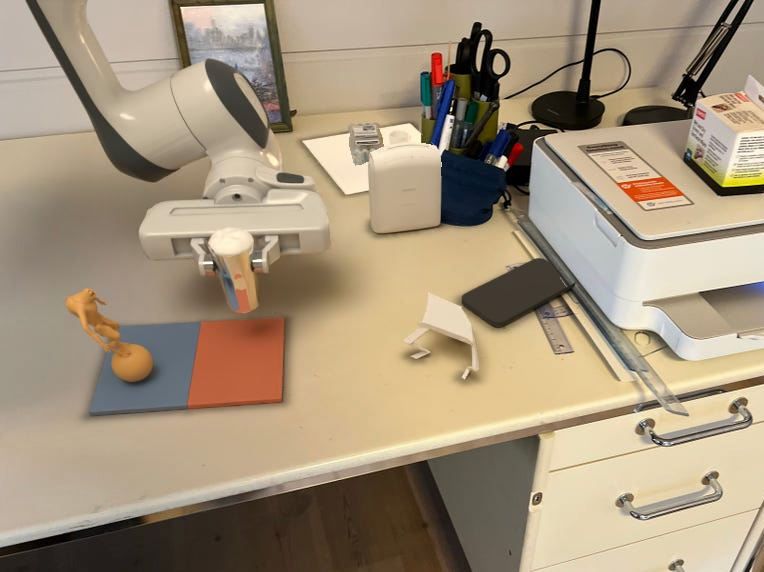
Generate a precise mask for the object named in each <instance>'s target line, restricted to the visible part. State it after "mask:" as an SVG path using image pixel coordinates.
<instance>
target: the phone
mask: <svg viewBox="0 0 764 572" xmlns="http://www.w3.org/2000/svg"><path fill="white" fill-rule="evenodd" d="M552 264H553V263H552V262H550V261H549V260H547V259H545V258H543V257H542V258H541V257H536V258H533V259H531V260H529V261H527V262H525V263H523V264H521V265H519V266H517V267H515V268H513V269H511V270H509V271H507V272H504V273H503V274H501V275H499V276H497V277H495V278H493V279H490V280H489V281H487V282H485V283H483V284H480V285H479V286H477V287H475V288H473V289H471V290H469V291H467V292H465V293H463V294H462V295H461V302H460V303H461V304H462V305H463V306H464V307H465V308H467V309H468V310H469V311H471V312H472V313H474V314H475V315H477V316H478V317H479V318H480V319H482V320H484V321H485V322H486V323H488V325H489V324H490V325H491V326H493V327H497V328H499V327H504V326H506V325H508V324H510V323H512V322H513V321H515V320H517V319H518V318H521V317H522V316H525V315H526V314H527V313H529V312H531V311H533V310H535V309H537V308H539V307H540V306H543V305H544V304H546V303H548V302H549V301H551V300H553V299H555V298H557V297H559V296H561V295H562V294H564V293H566V292H568V291H570V290H571V289H573V288H574V287H576V282H577V280H576V281H575V283H573V284H572V285H570V286H568V287H566V286H565V285H564V283H563V282H562V280H561V279H560V276H559V274H558V272H557V270H556V269H555V268H554V267H553V266H552Z"/></svg>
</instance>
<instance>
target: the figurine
mask: <svg viewBox="0 0 764 572" xmlns="http://www.w3.org/2000/svg"><path fill="white" fill-rule="evenodd" d="M97 302H98V303H99V304H100V305H102V306H103V305H104V306H107V305H108V303H106V302H105V301H104V300H102V299H100V298H99V297H97V293H96V292H94V290H93V289H92V288H90V287H87V288H84V289H83V290H81V291H79V292H78V293H75V294H73V295H70V296H69V297H67V299H66V300H65V308H66V309H67V311H68V312H69V313H70V314H72V315H73V316H75V317H76V318H78V319H79V323H80V325H81V327H82V329H83V331H84V332H85V333H86V334H87V335H88V336H89V337H91V338H92V339H93V340H94V341H95V342H96V343H97V344H99V345H100V346H101V348H102V349H103V351H105V352H106V354H107V353H108V351H110V350H109V349H111V350H112V351H114V352H115V353H114V355H113V357H112V361H111V365H112V369H113V371H114V373H115V374H116V375H117V376H118V377H119V378H120V379H122V380H124V381H128V382H136V381H140V380H142V379H144V378H145V377H147V376H148V375H149V373H150V372H151V370H152V367H153V359H152V356H151V354H150V352H149V351H148V350H147V349H146V348H144V347H142V346H140V345H137V344H129V343H122V342H119V340H120V334H119V332H117V331H118V329H119V326H120V325H119V322H117V321H115V320H112V319H110V318H109V317H105V316H104V315H102V314H100V313H99V309H98V304H97ZM90 326H91V327H93V330H92V329H91V328H90ZM100 336H101V337H105V338H108V343H104V341H103V340H102V338H101V337H100ZM116 345H117V346H118V347H119V349H118V348H116V347H115V346H116ZM109 346H110V347H109ZM110 352H111V351H110Z"/></svg>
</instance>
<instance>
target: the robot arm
mask: <svg viewBox="0 0 764 572" xmlns="http://www.w3.org/2000/svg"><path fill="white" fill-rule="evenodd" d="M24 1H25V3H26V5H27V7H28V9H29V11H30V13H31V15H32V16H33V19H34V20H35V22H36V24H37V26H38V28H39V29H40V31H41V34H42V35H43V37H44V40H45V41H46V43H47V44H48V46H49V48H50V50H51V52H52V53H53V56H55V58H56V60H57V62H58V64H59V66H60V68H61V70H62V71H63V72H64V74H65V76H66V78H67V80H68V82H69V83H70V86H71V87H72V89H73V90H74V92H75V95H76V96H77V97H78V100H79V101H80V103H81V104H82V107H83V108H84V110H85V112H86V114H87V116H88V118H89V120H90V122H91V125H92V127H93V129H94V133H95V134H96V137H97V139H98V141H99V144H100V146H101V148H102V149H103V151H104V154H105V155H106V157H107V158H108V161H110V163H111V164H112V165H113V166H114V168H115V169H116V170H117V171H118V172H120V173H121V174H124V175H126V176H128V177H130V178H133V179H135V180H140V181H144V182H148V183H158V182H159V181H161V180H163V179H165V178H167V177H169V176H170V175H172V174H175V172H178V171H179V170H180V169H182V168H183V167H186V166H188V165H190V164H193V163H195V162H197V161H200V160H202V159H204V158H206V157H208V158H209V164H208V173H207V175H206V177H205V183H204V188H203V193H202V198H201V199H179V200H178V199H175V200H174V199H172V200H163V201H160V202H157V203H156V204H154V205H153V206H152V207H150V208H148V209H147V211H146V214H145V216H144V218H143V220H142V222H141V224H140V226H139V227H138V238H139V242H140V247H141V248H142V253H143V255H144V256H145V257H146V258H147V259H149V260H151V261H157V262H158V261H178V260H193V261H194V262H195V263H196V265H198V269H199V274H200V277H208V276H216V275H217V269H216V266H215V264H214V261H213V258H212V255H211V253H210V250H209V248H208V245H207V244H206V243H205V242H204V241H203V239H204V240H206V242H207V243H208V242H209V240H210V238H211V236H212V234H213V233H214V232H215V231H217V230H221V229H224V228H227V227H230V228H240V229H243V230H245V231H247V232H248V233H250V234H251V235H252V237H253V240H254V251H255V256H254V258H253V260H252V261H253V267H254V273H257V274H269V272H270V266H271V265H272V264H274V263H275V262H276V261H278V259H280V258H281V256H297V255H298V256H299V255H322V254H325V253H327V252H328V251H329V250H330V249H332V242H331V241H332V238H331V227H330V219H329V213H328V210H327V207H326V204H325V201H324V199H323V197H322V196H321V195H320V194H318V190H317V186H316V182H315V179H314V178H313V177H312V176H309V175H304V174H296V173H291V172H285V171H283V158H282V153H281V149H280V146H279V145H280V144H279V143H278V139H277V138H276V134H274V132H273V130H272V129H271V121H270V117H269V114H268V111H267V109H266V107H265V105H264V103H263V101H262V99H261V97H260V95H259V93H258V92H257V90H256V88H255V86H254V85H253V84H252V82H251V81H250V80H249V78H248V77H247V76H246V75H245V74H244V73H242V72H241V71H240V70H238V69H237V68H235V67H233V66H231V65H230V64H228V63H226V62H224V61H221V60H218V59H216V58H209V57H207V58H206V59H204V60H201V61H199V62H196V63H193V64H192V65H189V66H187V67H185V68H182V69H180V70H178V71H175V72H173V73H172V74H171V75H169V76H167V77H164V78H162V79H159V80H157V81H155V82H153V83H150V84H149V85H146V86H143V87H141V88H139V89H136V90H130V89H127V88H125V87H123V86H122V85H121V83H120V81H119V79H118V77H117V75H116V74H115V71H114V69H113V67H112V66H111V64H110V62H109V59H108V57H107V56H106V53H105V52H104V50H103V48H102V46H101V44H100V42H99V40H98V38H97V37H96V35H95V33H94V31H93V29H92V26H91V25H90V23H89V19H88V13H87V7H88V0H24Z"/></svg>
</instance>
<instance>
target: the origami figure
mask: <svg viewBox="0 0 764 572" xmlns="http://www.w3.org/2000/svg"><path fill="white" fill-rule="evenodd" d="M469 318H470V316H469V315H468V314H466V312H465V311H464V310H463V306H462V305H458V304H456V303H454V302H451V301H449V300H446V299H444V298H442V297H440V296H438V295H435V294H433V293H432V292H430V291H428V294H427V299H426V308H425V312H424V315H423V319H422V320H419V321H417V324H418V326H419V327H418V328H417V329H415V330H414V331H413V332H412V333H410V334H409V335H408V336H407V337H405V338H404V339H403V340H402V341H401V342H402V343H404V344H406V345H409V346H412V347H413V348H416V349H418V350H421V351H419V352H417V353H414V354H412V355H411V356H410V358H412V359H415V360H418V359H419V358H422V357H424V356H426V355H428V354H429V353H431V351H430V350H428V349H427V348H425V347H423V346H421V345H419V344H418V343H417V342H416V341H417V340H418V339H420V338H421V337H422V336H424V334H426V333H428V331H430V330H431V331H434V332H436V333H439V334H441V335H444V336H447V337H450V338H453V339H455V340H458V341H460V342H463V343H466V344H468V345H471V361H472V362H471V366H470V365H469V366H467V367H466V369H465V370H464V372H463V374H462V376H461V379H462V380H466V379H467V378H468V375H469V373H470V371H473V372H474V371H475V372H476V371H478V370H479V369H480V364H479V357H478V356H479V355H478V349H477V343H476V337H475V332H474V328H473V325H472V323H471V321H470V319H469Z"/></svg>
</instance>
